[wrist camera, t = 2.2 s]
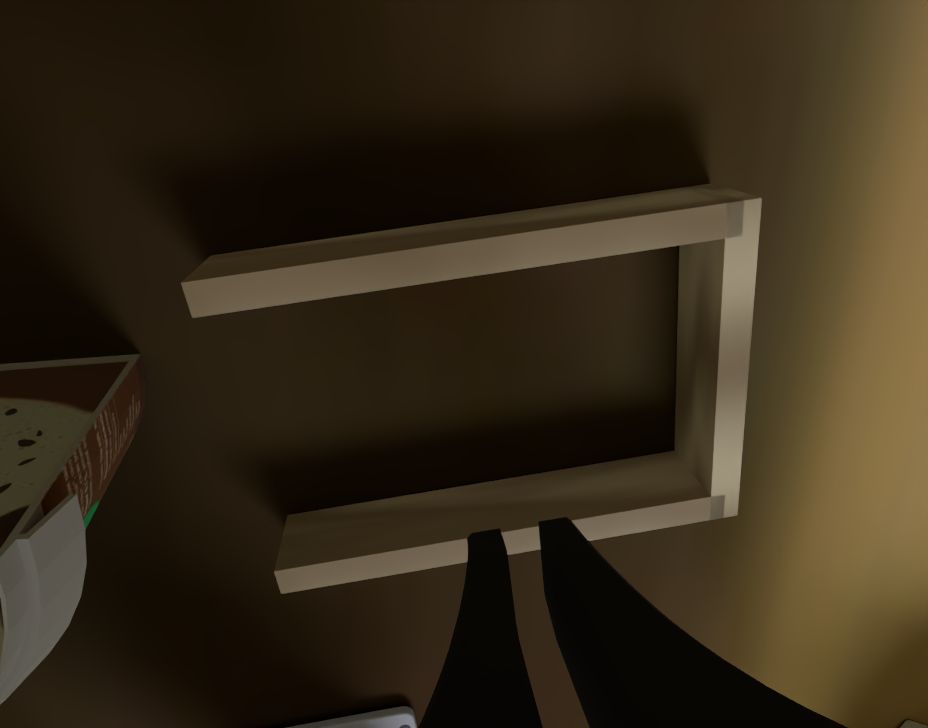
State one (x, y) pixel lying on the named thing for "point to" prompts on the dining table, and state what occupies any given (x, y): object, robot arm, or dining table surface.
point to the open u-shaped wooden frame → (550, 493)
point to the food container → (55, 490)
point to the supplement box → (913, 725)
